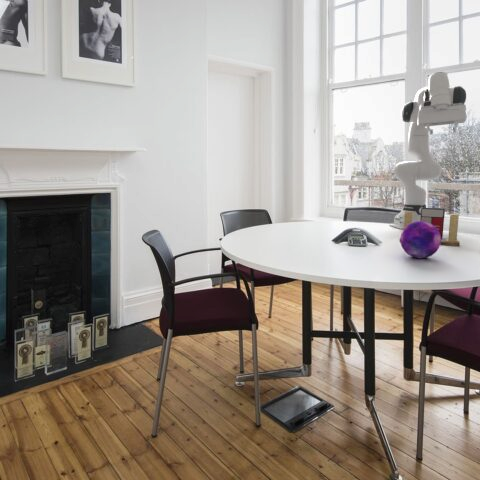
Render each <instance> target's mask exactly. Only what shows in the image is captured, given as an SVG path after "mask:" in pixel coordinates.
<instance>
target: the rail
mask: <svg viewBox="0 0 480 480" xmlns="http://www.w3.org/2000/svg"><path fill="white" fill-rule="evenodd" d="M400 239H401V237H400V238H399V243H401V241H400ZM440 246H451V247H460V240H458V243H454V242H446V240H441V244H440Z"/></svg>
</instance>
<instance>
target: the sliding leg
mask: <svg viewBox="0 0 480 480" xmlns="http://www.w3.org/2000/svg"><path fill="white" fill-rule="evenodd" d="M412 219H413V212H409V211H405V216H404V229H405V227H406V226H408V225H409V224H411V223H412ZM404 229H403V230H404Z"/></svg>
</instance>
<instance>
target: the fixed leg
mask: <svg viewBox="0 0 480 480" xmlns="http://www.w3.org/2000/svg"><path fill="white" fill-rule="evenodd" d="M459 217H460V215H459V214H458V213H450V215H449V224H448V225H449V227H448V237H447V238H448V239H446V242H454V243H458V241H459V238H458V229H459V228H458V227H459V219H460V218H459ZM457 238H458V239H457Z"/></svg>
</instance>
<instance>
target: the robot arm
mask: <svg viewBox="0 0 480 480" xmlns="http://www.w3.org/2000/svg"><path fill="white" fill-rule="evenodd" d="M466 101H467V93H466V89H465V88H464V87H462V86H461V85H458V86H453V87H451V86H450V81H449V76H448V74H447V73H446V72H444V71H439V72H434V73H432V74H430V76H429V78H428V86H424V87H423V88H421V89H419V90H418V91H417V93H416V94H415V97H414V100H413V101H412V100H409V102H406V103H405V104H404V105H403V106H402V108H401V110H400V117H401V120H402V122H405V123H410V125H409V130H408V138H407V139H408V141H407V151H408V153H409V154H410V155H411V156H413V157H415V158H416V159H417V160H418V161H401V162H398V163H397V164H396V165H395V166H394V169H393V174H394V177H395V178H396V180H398V181H399V182H400V183H401V184H402V186H403V188H404V192H405V193H404V195H405V196H404V197H405V198H404V199H405V200H404V201H405V202H404V204H402V205H401V207H402V210H401V211H400V212H399V213H397V214H396V215H395V216H394V219H393V223H390V224H389V227H393V228H396V229H400V230H404V216H405V211H409V212H413V219H412V223H413V222H416V221H420V220H421V209H422V208H427V204H426V203H427V202H426V201H427V200H426V199H427V191H426V190H425V189H424V188H423V187H421V186H419V185H418V184H417V183H416V182H417V181H422V182H423V181H429V182H430V181H435V180H438V179H439V178H440V177H441V175H442V173H443V168H442V165H441V164H440V163H439V162H438V161H436V160H435V159H434V158H433V157H432V154H431V152H430V144H429V143H430V141H429V140H430V135H434V129H433V128H430V127H434V126H444V125H445V126H446V125H453V127H451V133H456V132H457V126H458V125H459V124H464V123H465V122H466V121H467V111H466V110H467V106H466V104H465V103H466Z"/></svg>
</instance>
